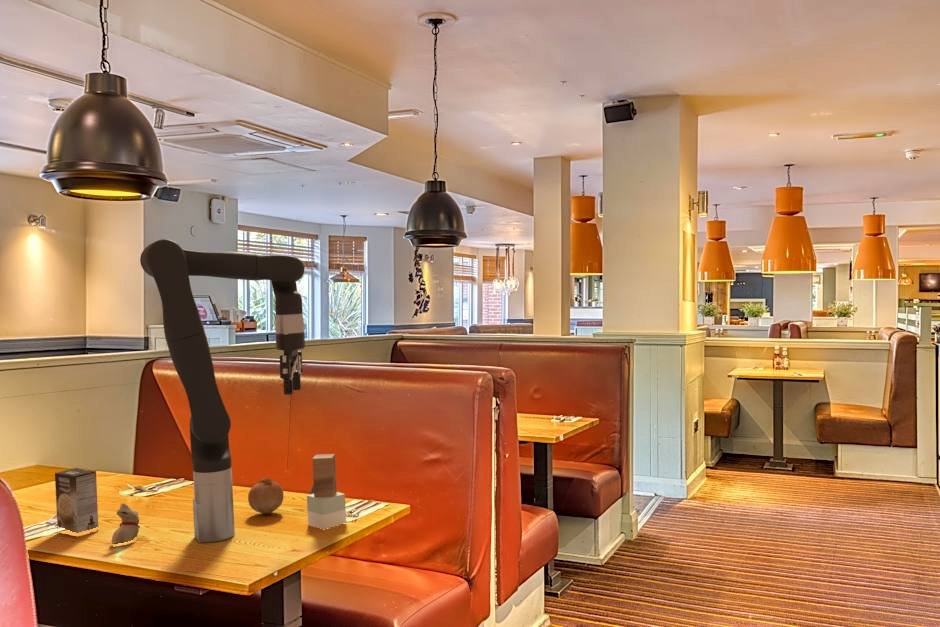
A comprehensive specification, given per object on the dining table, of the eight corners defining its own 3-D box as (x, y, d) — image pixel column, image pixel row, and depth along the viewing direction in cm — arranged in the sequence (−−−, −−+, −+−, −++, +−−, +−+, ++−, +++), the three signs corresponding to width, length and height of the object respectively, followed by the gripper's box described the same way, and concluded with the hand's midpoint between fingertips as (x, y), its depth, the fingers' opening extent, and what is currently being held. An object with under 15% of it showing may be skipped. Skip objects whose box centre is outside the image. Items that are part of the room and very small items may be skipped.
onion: (291, 512, 218) (289, 476, 218) (265, 521, 210) (263, 483, 210) (267, 507, 223) (266, 472, 223) (241, 516, 215) (239, 480, 215)
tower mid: (322, 515, 200) (322, 499, 200) (307, 510, 205) (306, 495, 204) (345, 509, 205) (344, 493, 204) (329, 504, 210) (329, 489, 209)
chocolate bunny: (146, 540, 197) (144, 501, 196) (113, 548, 191) (111, 508, 191) (137, 536, 201) (135, 497, 200) (105, 544, 195) (103, 504, 195)
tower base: (323, 531, 200) (323, 515, 200) (308, 525, 205) (307, 510, 205) (346, 524, 205) (345, 509, 205) (330, 519, 210) (329, 504, 210)
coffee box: (56, 533, 206) (53, 472, 205) (79, 526, 211) (76, 467, 211) (77, 538, 201) (74, 475, 201) (100, 531, 207) (97, 470, 206)
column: (333, 496, 202) (331, 457, 202) (314, 497, 202) (312, 458, 202) (336, 491, 207) (334, 453, 207) (317, 492, 207) (315, 454, 207)
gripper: (283, 330, 216) (285, 389, 217) (268, 333, 202) (271, 396, 203) (310, 329, 216) (312, 388, 217) (297, 332, 202) (300, 395, 202)
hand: (292, 392), depth 210 cm, fingers open, 8 cm apart
